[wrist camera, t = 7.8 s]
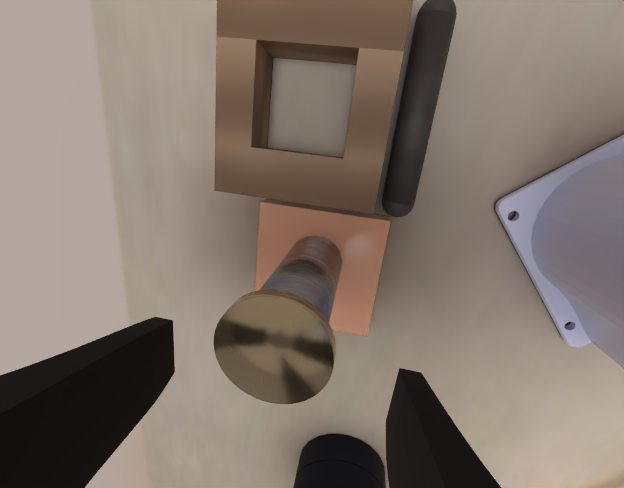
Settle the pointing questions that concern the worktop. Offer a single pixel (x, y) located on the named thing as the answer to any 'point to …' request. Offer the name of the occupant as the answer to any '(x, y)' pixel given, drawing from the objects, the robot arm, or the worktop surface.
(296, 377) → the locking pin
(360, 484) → the black water bottle
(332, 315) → the tile pad
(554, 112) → the worktop surface
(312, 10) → the clamp block
